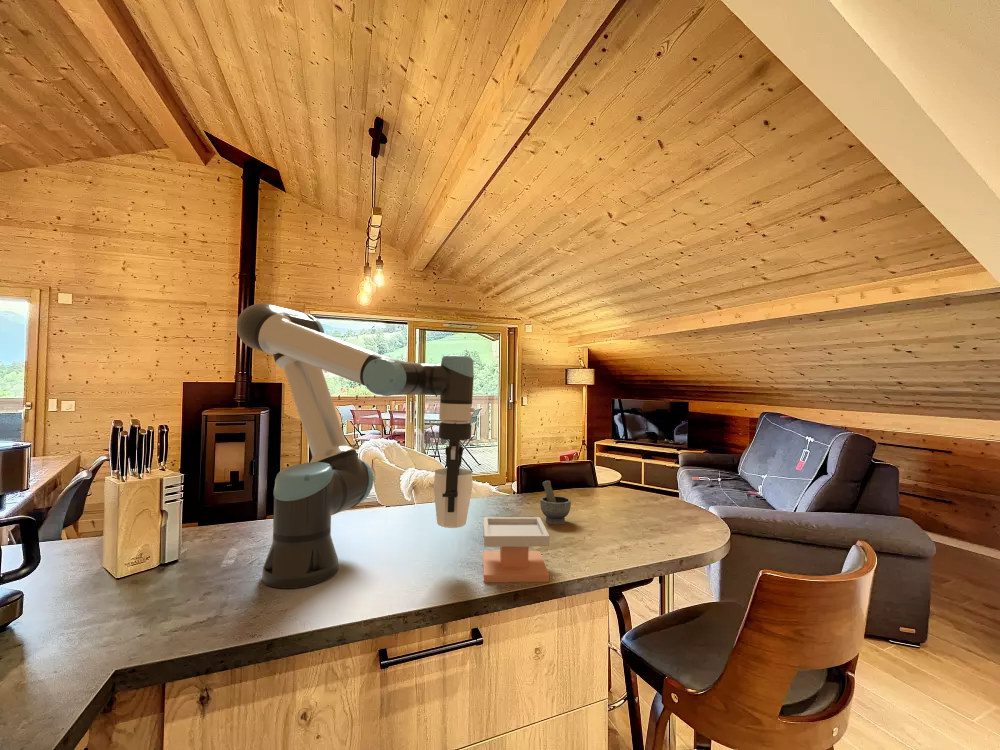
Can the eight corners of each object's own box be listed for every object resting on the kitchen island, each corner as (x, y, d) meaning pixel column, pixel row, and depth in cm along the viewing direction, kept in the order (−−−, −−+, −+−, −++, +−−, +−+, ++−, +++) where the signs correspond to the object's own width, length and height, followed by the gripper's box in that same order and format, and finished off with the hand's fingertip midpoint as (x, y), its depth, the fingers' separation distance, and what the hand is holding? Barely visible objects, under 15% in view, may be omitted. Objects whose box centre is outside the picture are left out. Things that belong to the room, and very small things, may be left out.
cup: (464, 531, 97) (467, 476, 97) (426, 527, 99) (428, 473, 99) (475, 520, 106) (477, 469, 106) (439, 516, 107) (441, 466, 108)
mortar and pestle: (577, 523, 136) (577, 484, 137) (552, 528, 132) (552, 487, 132) (555, 514, 146) (556, 478, 147) (531, 518, 142) (532, 480, 142)
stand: (483, 582, 94) (484, 536, 94) (482, 557, 108) (483, 517, 108) (548, 581, 95) (549, 536, 95) (539, 557, 109) (539, 517, 109)
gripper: (471, 426, 92) (466, 535, 92) (472, 419, 114) (468, 507, 113) (435, 425, 92) (430, 534, 91) (442, 418, 113) (439, 506, 113)
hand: (451, 519), depth 102 cm, fingers closed on cup, 9 cm apart
